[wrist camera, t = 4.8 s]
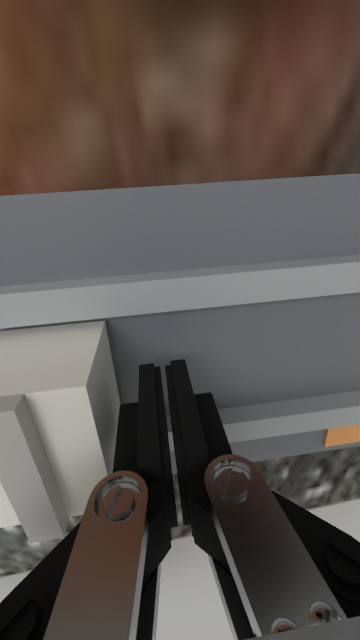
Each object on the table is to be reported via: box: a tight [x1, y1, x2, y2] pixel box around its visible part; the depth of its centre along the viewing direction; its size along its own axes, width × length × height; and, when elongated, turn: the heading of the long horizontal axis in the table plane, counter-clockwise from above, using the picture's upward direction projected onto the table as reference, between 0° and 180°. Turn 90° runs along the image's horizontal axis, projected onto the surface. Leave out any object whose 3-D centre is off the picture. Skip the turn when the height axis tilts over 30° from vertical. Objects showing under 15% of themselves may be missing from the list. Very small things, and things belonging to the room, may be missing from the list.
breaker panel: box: [0, 173, 360, 474], centre depth 12 cm, size 14×26×2 cm, turn 93°
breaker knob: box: [0, 321, 121, 543], centre depth 10 cm, size 5×4×5 cm
